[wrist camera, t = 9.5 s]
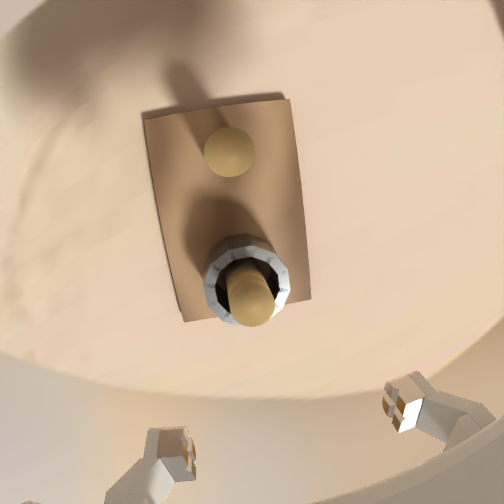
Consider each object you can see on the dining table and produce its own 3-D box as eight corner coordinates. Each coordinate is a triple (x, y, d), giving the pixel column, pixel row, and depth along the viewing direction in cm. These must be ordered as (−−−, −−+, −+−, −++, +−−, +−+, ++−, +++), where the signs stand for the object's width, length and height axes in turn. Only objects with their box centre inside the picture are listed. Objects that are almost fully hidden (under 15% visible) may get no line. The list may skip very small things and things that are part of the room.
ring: (273, 228, 27) (284, 239, 23) (282, 296, 29) (292, 316, 25) (198, 241, 26) (196, 255, 22) (212, 309, 28) (213, 332, 24)
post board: (286, 101, 25) (317, 80, 17) (308, 294, 30) (338, 337, 22) (146, 121, 24) (120, 106, 16) (184, 317, 29) (179, 368, 21)
